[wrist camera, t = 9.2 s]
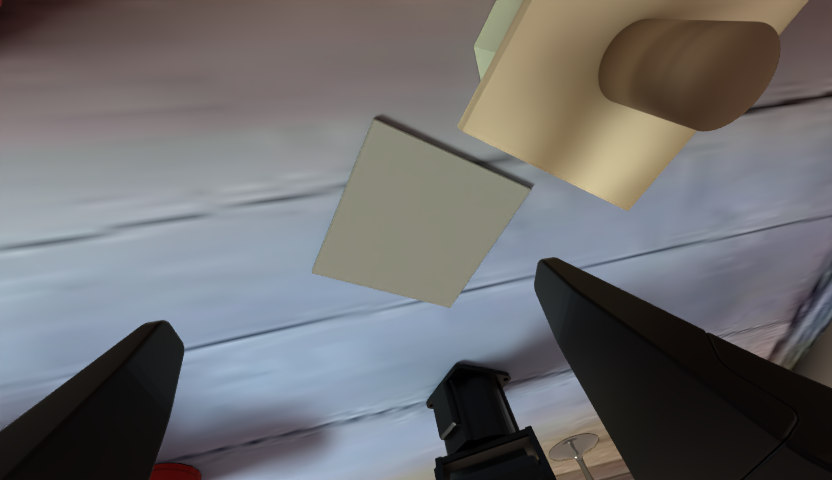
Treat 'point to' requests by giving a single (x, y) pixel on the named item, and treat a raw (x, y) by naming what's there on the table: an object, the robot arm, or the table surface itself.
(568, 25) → the lid
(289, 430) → the table surface
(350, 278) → the mat
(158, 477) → the plastic cup
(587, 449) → the wine glass
